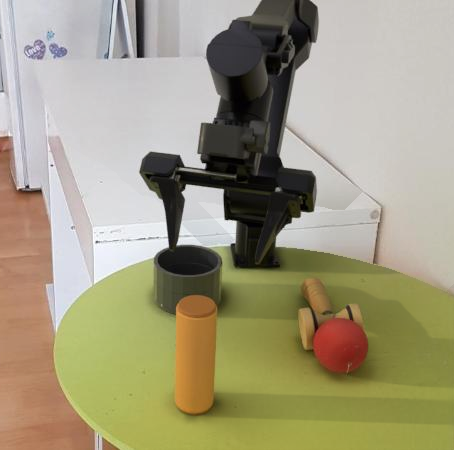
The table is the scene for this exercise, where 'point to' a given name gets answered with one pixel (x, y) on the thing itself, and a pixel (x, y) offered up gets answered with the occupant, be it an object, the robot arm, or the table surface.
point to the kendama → (332, 330)
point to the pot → (186, 275)
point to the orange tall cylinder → (195, 354)
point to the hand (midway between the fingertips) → (213, 256)
